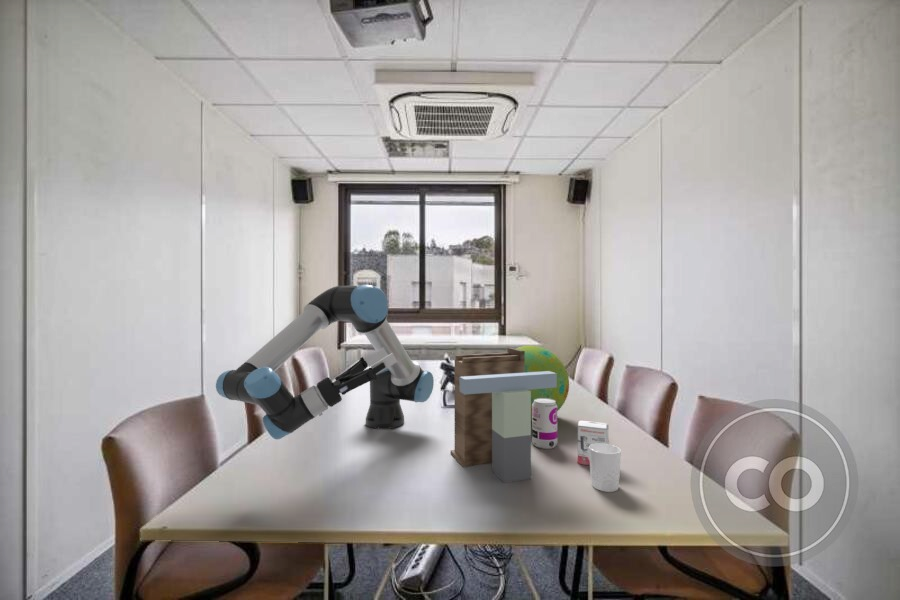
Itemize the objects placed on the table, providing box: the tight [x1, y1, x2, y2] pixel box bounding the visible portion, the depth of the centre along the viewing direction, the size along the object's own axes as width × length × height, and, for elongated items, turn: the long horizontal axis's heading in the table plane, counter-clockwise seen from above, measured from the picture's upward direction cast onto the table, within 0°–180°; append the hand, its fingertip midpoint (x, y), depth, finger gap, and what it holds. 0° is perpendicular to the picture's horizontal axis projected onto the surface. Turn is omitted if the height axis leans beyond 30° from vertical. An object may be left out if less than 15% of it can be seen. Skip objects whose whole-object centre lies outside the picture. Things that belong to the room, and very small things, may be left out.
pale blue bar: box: [459, 371, 557, 395], centre depth 116 cm, size 28×4×4 cm, turn 108°
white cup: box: [589, 443, 622, 493], centre depth 109 cm, size 8×8×10 cm
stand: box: [450, 347, 525, 467], centre depth 130 cm, size 22×11×33 cm, turn 108°
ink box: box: [577, 420, 609, 466], centre depth 124 cm, size 9×5×12 cm, turn 68°
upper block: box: [492, 390, 532, 438], centre depth 116 cm, size 8×8×12 cm
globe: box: [515, 345, 570, 422], centre depth 170 cm, size 30×30×30 cm
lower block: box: [491, 430, 532, 484], centre depth 116 cm, size 8×8×12 cm
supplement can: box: [531, 398, 558, 450], centre depth 139 cm, size 8×8×15 cm
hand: (390, 354), depth 118 cm, fingers open, 13 cm apart
